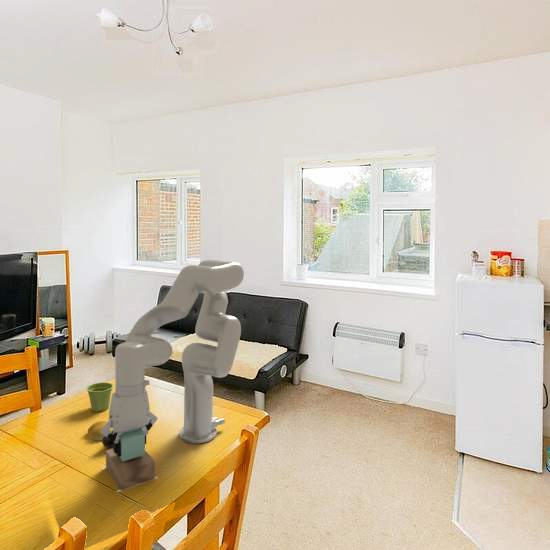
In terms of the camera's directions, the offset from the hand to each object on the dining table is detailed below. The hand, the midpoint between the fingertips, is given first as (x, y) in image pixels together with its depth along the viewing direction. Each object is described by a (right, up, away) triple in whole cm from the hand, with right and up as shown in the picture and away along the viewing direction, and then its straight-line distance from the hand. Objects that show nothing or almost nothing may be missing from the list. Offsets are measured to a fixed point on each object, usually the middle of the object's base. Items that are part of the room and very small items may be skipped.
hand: (130, 450), depth 114 cm
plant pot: (-27, -3, +43) cm, 51 cm away
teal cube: (0, -1, 0) cm, 1 cm away
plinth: (0, -7, +1) cm, 7 cm away
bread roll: (-18, -5, +24) cm, 30 cm away
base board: (0, -8, +1) cm, 8 cm away
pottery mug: (-9, -6, +16) cm, 20 cm away
